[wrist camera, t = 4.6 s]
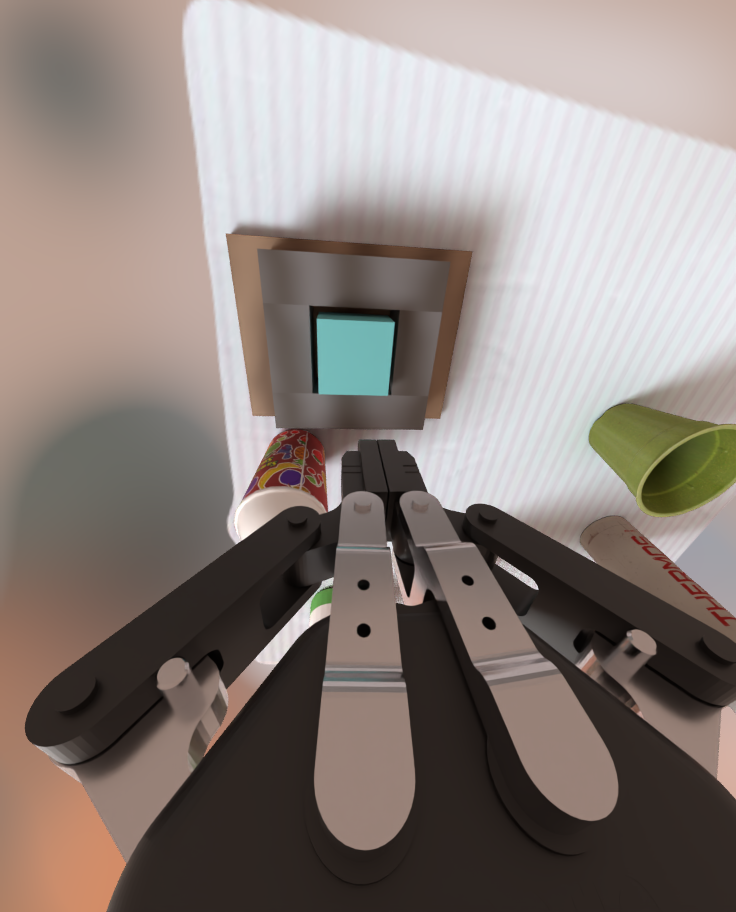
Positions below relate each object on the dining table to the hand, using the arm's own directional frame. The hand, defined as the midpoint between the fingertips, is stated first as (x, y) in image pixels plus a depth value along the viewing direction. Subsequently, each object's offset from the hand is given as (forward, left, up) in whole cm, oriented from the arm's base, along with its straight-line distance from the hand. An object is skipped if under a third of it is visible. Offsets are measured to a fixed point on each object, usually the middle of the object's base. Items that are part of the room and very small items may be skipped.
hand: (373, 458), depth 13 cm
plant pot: (-36, +10, -24) cm, 44 cm away
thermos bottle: (-44, +30, -24) cm, 58 cm away
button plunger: (0, 0, -19) cm, 19 cm away
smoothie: (+6, +14, -24) cm, 28 cm away
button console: (0, 0, -24) cm, 24 cm away
